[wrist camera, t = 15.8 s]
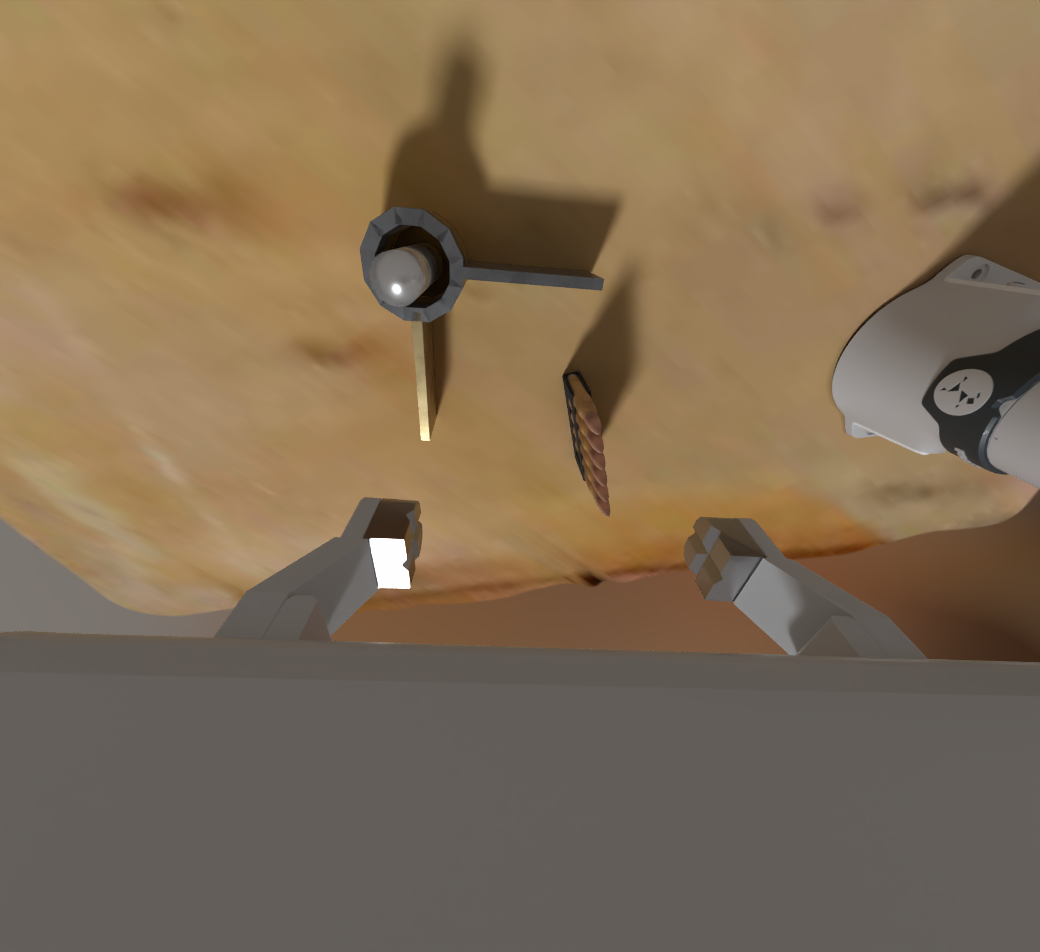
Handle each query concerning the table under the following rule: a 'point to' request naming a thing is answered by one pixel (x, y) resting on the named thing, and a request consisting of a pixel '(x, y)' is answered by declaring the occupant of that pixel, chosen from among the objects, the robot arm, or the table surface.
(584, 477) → the ammunition clip
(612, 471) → the table surface
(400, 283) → the hinge pin
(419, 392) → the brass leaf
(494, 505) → the table surface
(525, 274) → the steel leaf
